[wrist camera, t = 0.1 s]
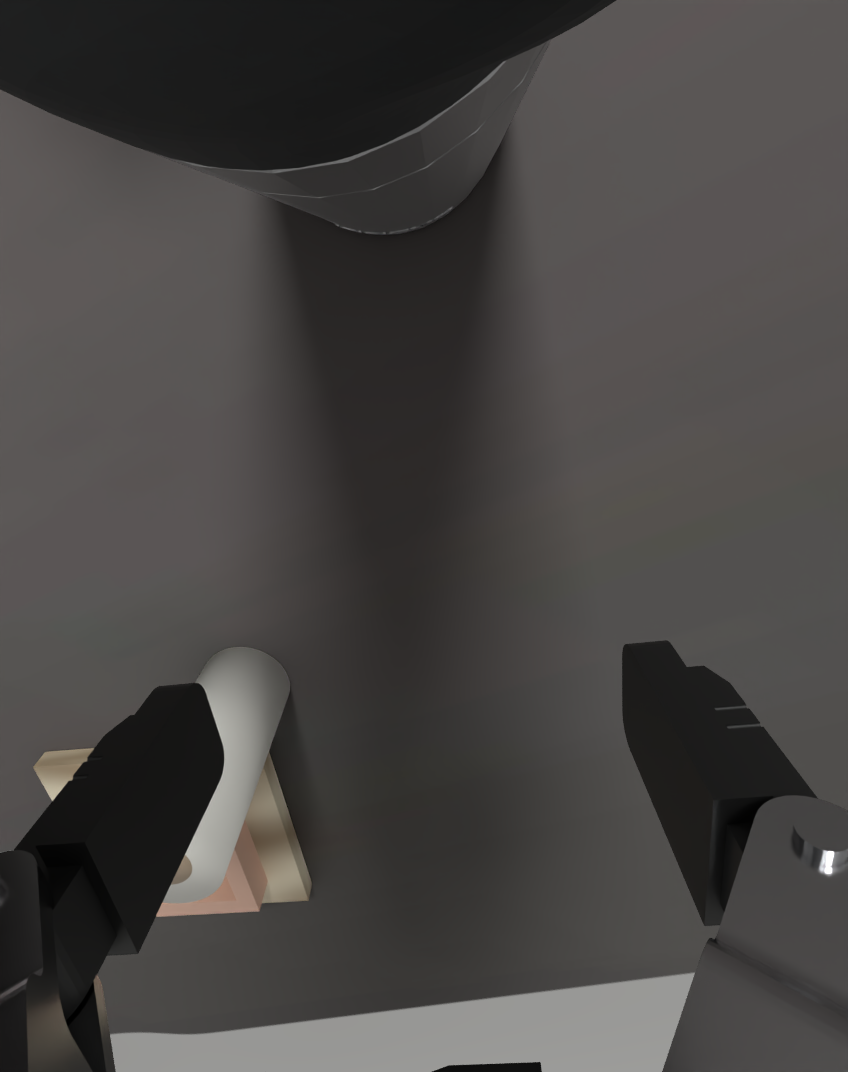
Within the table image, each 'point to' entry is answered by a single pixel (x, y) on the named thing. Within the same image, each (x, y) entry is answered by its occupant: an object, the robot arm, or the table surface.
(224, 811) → the paper roll
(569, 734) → the table surface
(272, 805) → the roll holder
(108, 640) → the table surface
